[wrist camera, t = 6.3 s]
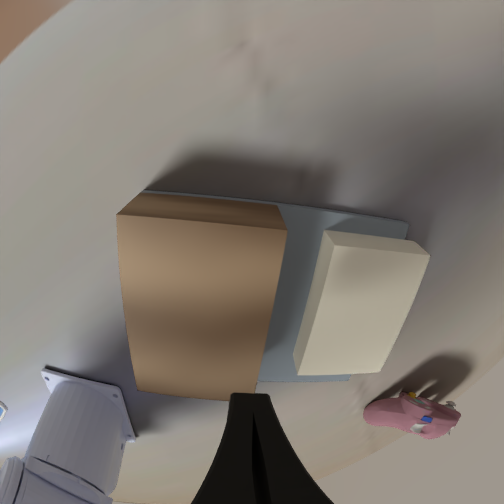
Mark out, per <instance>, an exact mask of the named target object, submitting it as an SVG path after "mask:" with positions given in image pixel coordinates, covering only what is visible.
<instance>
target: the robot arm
mask: <svg viewBox="0 0 504 504" xmlns="http://www.w3.org/2000/svg"><path fill="white" fill-rule="evenodd" d="M41 374H42V376H43V378H44V380H45V382H46V385H47V387H48V389H49V391H50V393H51V396H50V398H49V400H48V402H47V404H46V407H45V409H44V411H43V413H42V415H41V418H40V420H39V422H38V425H37V427H36V429H35V432H34V434H33V436H32V439H31V441H30V444H29V446H28V449H27V451H26V454H25V457H24V458H22V459H20V458H18V457H16V456H15V457H13V458H7V459H6V461H5V462H4V464H3V465H2V467H1V469H0V504H112V501H113V499H112V498H110V497H108V495H110V494H111V493H112V492H113V490H114V489H115V487H116V485H117V481H118V476H119V471H120V467H121V462H122V457H123V453H124V448H125V444H126V441H128V442H135V441H136V437H135V434H134V431H133V428H132V425H131V422H130V419H129V416H128V413H127V410H126V406H125V403H124V399H123V396H122V392H121V390H120V388H119V387H117V386H113V385H108V384H103V383H99V382H94V381H90V380H86V379H82V378H78V377H74V376H70V375H66V374H62V373H59V372H55V371H52V370H48V369H42V371H41ZM191 504H334V503H333V502H332V501H331V500H330V499H329V498H328V497H327V496H326V495H325V493H324V492H323V491H322V490H321V489H320V487H319V486H318V485H317V484H316V482H315V481H314V480H313V479H312V477H311V476H310V475H309V473H308V472H307V470H306V469H305V467H304V466H303V464H302V463H301V461H300V460H299V458H298V456H297V455H296V453H295V451H294V450H293V448H292V446H291V444H290V442H289V441H288V439H287V437H286V435H285V433H284V431H283V429H282V427H281V425H280V422H279V420H278V418H277V415H276V413H275V410H274V408H273V405H272V402H271V399H270V396H269V395H268V394H258V393H236V392H234V393H232V394H230V402H229V409H228V416H227V423H226V427H225V430H224V433H223V436H222V439H221V442H220V445H219V448H218V450H217V453H216V455H215V458H214V460H213V462H212V465H211V467H210V469H209V471H208V473H207V475H206V477H205V479H204V481H203V483H202V485H201V487H200V489H199V491H198V492H197V494H196V496H195V498H194V499H193V501H192V503H191Z"/></svg>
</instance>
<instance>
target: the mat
mask: <svg viewBox="0 0 504 504" xmlns="http://www.w3.org/2000/svg"><path fill="white" fill-rule="evenodd" d="M141 193H156V194H169V195H182V196H194V197H205V198H216V199H226V200H236V201H245V202H255V203H263V204H272V205H277V206H278V208H279V211H280V213H281V215H282V218H283V220H284V223H285V225H286V227H287V230H288V232H287V238H286V243H285V248H284V254H283V259H282V264H281V269H280V275H279V280H278V285H277V290H276V295H275V300H274V305H273V310H272V314H271V319H270V324H269V329H268V334H267V338H266V343H265V348H264V352H263V357H262V362H261V366H260V371H259V375H258V380H257V381H268V382H327V381H348V380H349V378H350V376H351V374H341V375H297V371H296V367H295V362H294V357H293V352H294V348H295V344H296V341H297V337H298V334H299V330H300V326H301V323H302V319H303V315H304V311H305V307H306V303H307V300H308V296H309V292H310V288H311V284H312V279H313V275H314V271H315V267H316V263H317V258H318V254H319V250H320V245H321V241H322V236H323V232H324V230H330V231H339V232H347V233H356V234H364V235H372V236H380V237H387V238H395V239H403V240H405V238H406V234H407V231H408V228H409V224H408V223H407V222H405V221H400V220H394V219H388V218H382V217H376V216H370V215H364V214H357V213H351V212H344V211H337V210H330V209H323V208H316V207H309V206H301V205H293V204H285V203H277V202H269V201H260V200H251V199H242V198H232V197H222V196H212V195H201V194H190V193H177V192H164V191H150V190H143V191H142V192H141Z"/></svg>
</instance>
